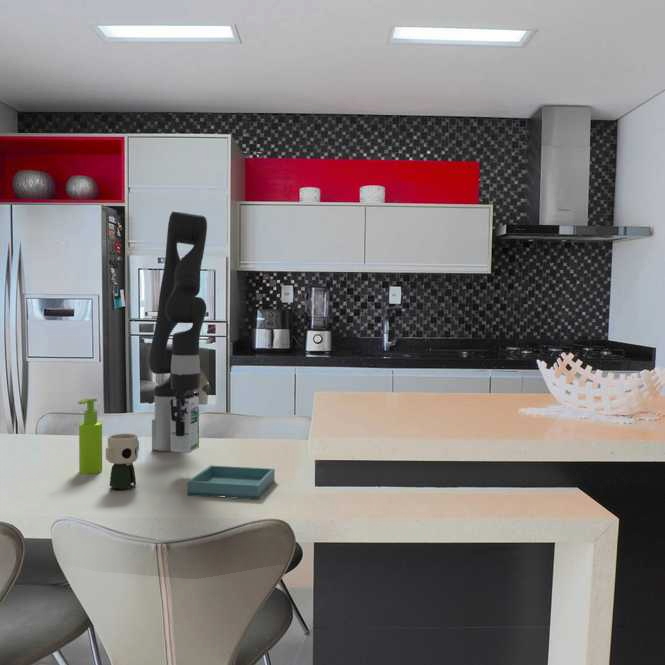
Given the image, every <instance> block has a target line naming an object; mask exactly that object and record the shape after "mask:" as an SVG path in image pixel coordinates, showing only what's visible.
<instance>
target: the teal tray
mask: <svg viewBox="0 0 665 665" xmlns="http://www.w3.org/2000/svg"><path fill="white" fill-rule="evenodd" d="M275 470H276V469H275V468H266V467H264V468H262V467H249V466H248V467H247V466H246V467H245V466H227V465H212V464H210V465H209V466H207V467H206V468H205V469H203V470H202V471H200V472H199V473H197V475H195V476H194V477H192V478H191V479H190V480H188V481H187V496H194V495H199V496H198V497H210V496H225V497H224V498H226V497H237V498H236V499H242V498H249V499H248V500H259V499H260V498H261V497H262V496H263V495H264V494H265V493H266V492H267V490H268V489H269V488H270V487H271V486H272V485H273V483H275V482H276V481H275V480H276V479H275V478H276V476H275V475H276V474H275V472H276V471H275ZM264 492H265V493H264ZM263 493H264V494H263ZM262 494H263V495H262Z"/></svg>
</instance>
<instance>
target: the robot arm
mask: <svg viewBox="0 0 665 665" xmlns="http://www.w3.org/2000/svg"><path fill="white" fill-rule="evenodd" d="M168 218H169V220H168V226H167V231H166V232H167V234H166V245H165V246H166V247H165V257H164V267H163V274H162V278H161V284H160V289H159V295H158V296H159V298H158V306H157V314H156V320H155V327H154V332H153V336H152V340H151V344H150V349H149V353H148V354H149V355H148V365H149V370H150V372H151V373H153V374H155V375H165V374H166V375H168V374H169V377H168V378H167V379H165V381H163V382H161V383H159V384H156V385H155V387H154V392H153V393H154V418H152V419H151V450H154V451H158V452H172V451H171V420H172V421H175V422H176V436H184V434H185V422H184V421H185V414H186V413H187V408H185V409H184V410H181V406H184V404H185V398H191V397H194V396H198V397H199V396H200V392H198V391H195V390H198V389H200V384H201V383H200V381H201V380H200V378H201V377H200V375H201V374H200V373H201V370H200V368H201V364H200V363H201V362H200V361H201V360H200V336H201V331H202V327H203V324H204V321H205V318H206V313H207V303H206V302H205V300H204V299H203V298H202V297H199V296H198V295H199V294H200V290H201V270H202V269H201V268H202V264H203V258H204V253H205V248H206V241H207V231H208V221H207V218H206V217H205V216H204V215H202V214H198V213H193V212H188V211H187V212H186V211H180V210H173V211H172V212H171V213H170V215H169V217H168ZM178 243H179V244H185V245H191V246H193V247H192V248H191V249H190V250H189V252H187V253H186V254H185V255H184V256H183V257H182V258H181V257H180V255H179V251H178ZM180 258H181V259H180ZM178 324H192V326H191V327H190V328H189V329H187V330H183V331H178V332H175V333H174V334H173V335H172V339H171V344H170V343H169V344H168V342H169V339H170V336H171V333H172V332H173V330H174V329H175V328H176V326H177V325H178ZM175 397H176V398H175ZM172 398H175V399H172ZM170 399H171V400H170ZM170 405H171V408H170Z"/></svg>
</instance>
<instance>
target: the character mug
mask: <svg viewBox="0 0 665 665" xmlns="http://www.w3.org/2000/svg"><path fill="white" fill-rule="evenodd" d="M139 450H140V441H139V438H138V435H137V433H117V434H111V435H108V437H107V447H106V448H105V459H106V461H108V462H109V463H110V464H113V465H112V466H111V471H110V479H109V487H111V488H115V489H117V490H125V489H131V488H132V486H133V487H136V486H137V480H136V472H135V465H134V464H133V463H135V462H136V461H137V460H138V457H139ZM132 484H133V485H132Z"/></svg>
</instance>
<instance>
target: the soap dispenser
mask: <svg viewBox="0 0 665 665" xmlns="http://www.w3.org/2000/svg"><path fill="white" fill-rule="evenodd" d="M97 399H98V398H84V399H80V400H79V401H77V403H78V404H79V405H85V404H87V406H86V409H85V410H84V411H83V422H82V423H79V425H78V440H79V441H78V450H79V451H78V453H79V456H78V457H79V458H78V460H79V462H78V463H79V465H78V466H79V471H78V472H79V473H80V474H84V475H92V474H93V473H94V474H98V473H101V472H103V422H101V421H100V422H99V421H98V410H97V409H95V402H97V401H98V400H97Z"/></svg>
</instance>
